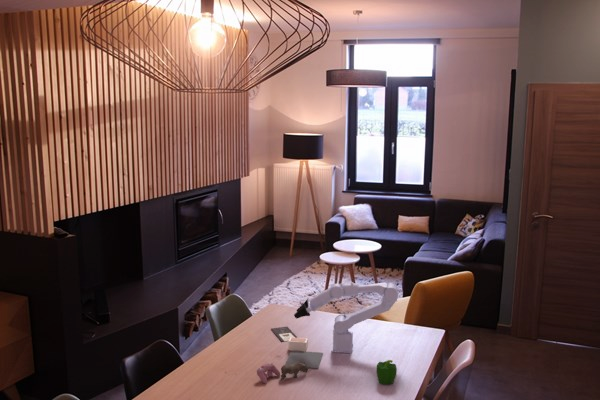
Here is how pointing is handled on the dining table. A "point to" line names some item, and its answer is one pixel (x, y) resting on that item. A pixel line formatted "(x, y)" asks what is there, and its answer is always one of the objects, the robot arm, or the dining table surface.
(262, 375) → the pink gorilla figurine
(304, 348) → the card deck
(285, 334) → the chocolate bar
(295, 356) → the charcoal mat
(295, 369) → the rhino figurine
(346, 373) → the dining table surface
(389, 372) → the bell pepper
